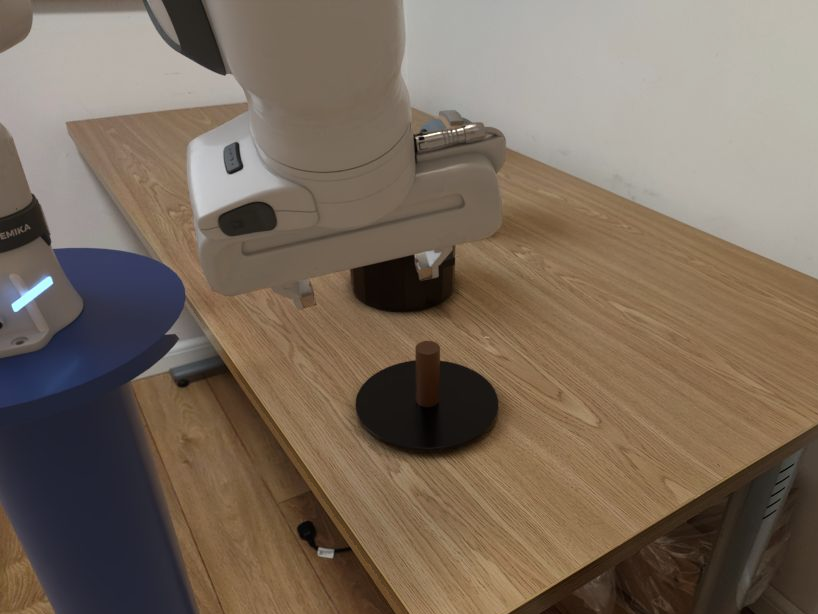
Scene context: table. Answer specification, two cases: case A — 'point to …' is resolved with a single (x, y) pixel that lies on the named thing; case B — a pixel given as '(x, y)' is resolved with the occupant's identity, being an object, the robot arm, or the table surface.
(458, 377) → the lid
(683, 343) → the table surface
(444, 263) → the pot
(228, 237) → the robot arm
